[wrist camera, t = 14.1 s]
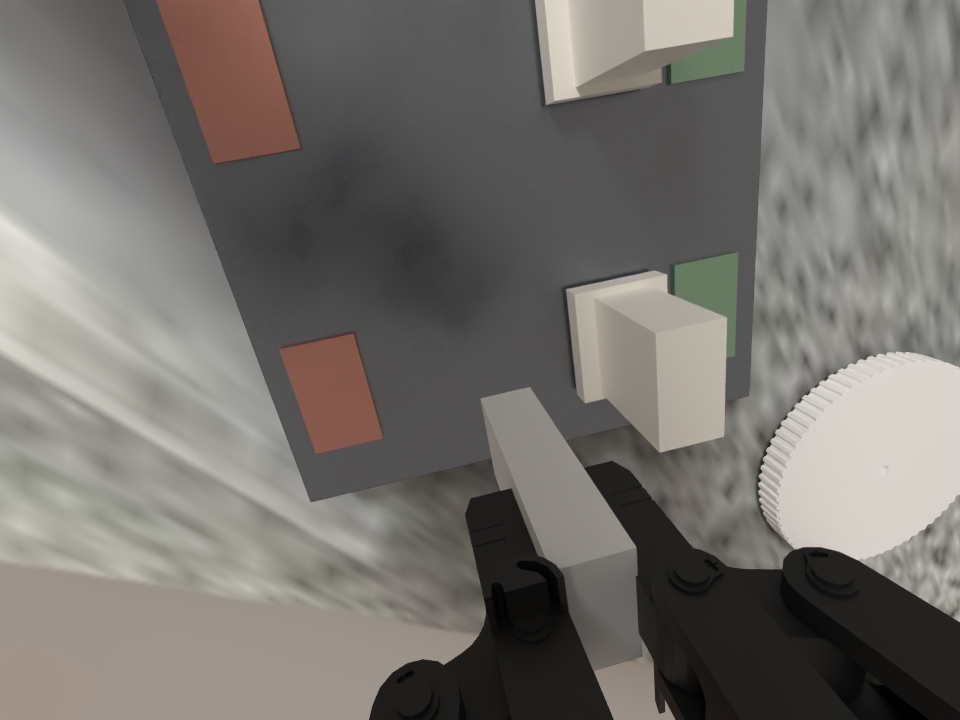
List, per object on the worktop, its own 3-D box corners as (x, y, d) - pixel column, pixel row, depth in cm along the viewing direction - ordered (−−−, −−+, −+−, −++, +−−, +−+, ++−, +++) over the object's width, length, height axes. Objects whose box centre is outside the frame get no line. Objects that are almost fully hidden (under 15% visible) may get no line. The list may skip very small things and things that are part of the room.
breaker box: (320, 466, 25) (310, 504, 22) (136, -57, 17) (80, -109, 14) (712, 373, 27) (751, 397, 24) (719, -134, 19) (780, -194, 16)
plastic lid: (721, 421, 28) (750, 443, 26) (931, 303, 28) (980, 314, 26) (776, 568, 34) (804, 597, 31) (953, 471, 33) (995, 493, 31)
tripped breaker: (576, 394, 22) (638, 465, 16) (566, 289, 20) (630, 329, 15) (658, 375, 22) (744, 438, 17) (654, 270, 21) (750, 303, 15)
